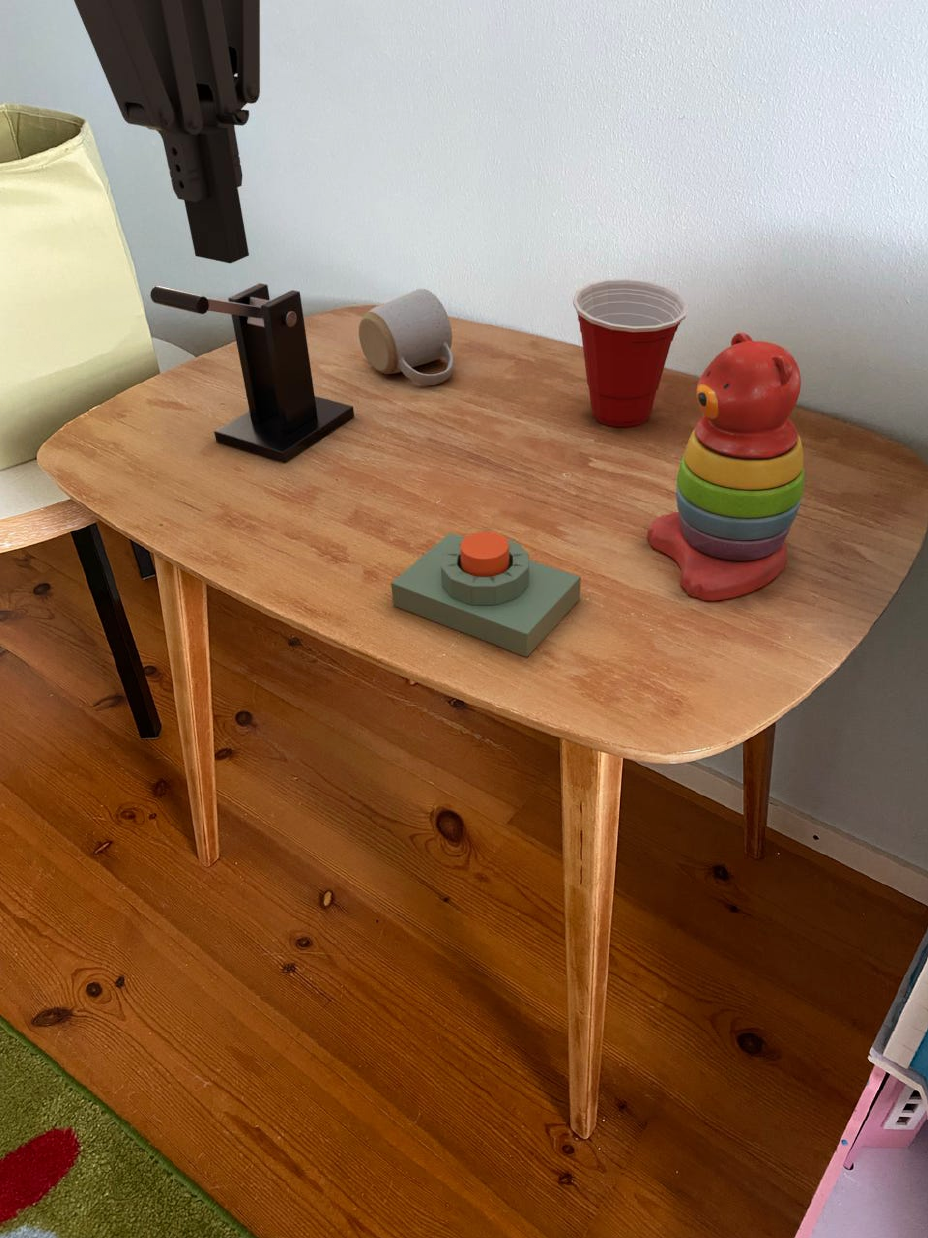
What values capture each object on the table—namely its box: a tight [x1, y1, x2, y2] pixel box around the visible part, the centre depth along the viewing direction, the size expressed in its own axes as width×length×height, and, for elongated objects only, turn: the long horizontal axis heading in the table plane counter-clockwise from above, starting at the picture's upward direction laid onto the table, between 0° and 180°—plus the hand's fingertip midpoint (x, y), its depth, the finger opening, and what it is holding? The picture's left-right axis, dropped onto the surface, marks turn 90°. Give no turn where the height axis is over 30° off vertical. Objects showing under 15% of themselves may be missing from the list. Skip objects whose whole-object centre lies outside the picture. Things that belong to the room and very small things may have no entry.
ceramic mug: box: [358, 288, 454, 386], centre depth 107 cm, size 11×8×8 cm
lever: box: [150, 285, 272, 327], centre depth 88 cm, size 13×6×2 cm, turn 147°
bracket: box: [213, 282, 355, 464], centre depth 95 cm, size 11×9×14 cm
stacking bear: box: [646, 332, 805, 601], centre depth 74 cm, size 11×10×18 cm
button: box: [460, 531, 509, 577], centre depth 73 cm, size 4×4×2 cm
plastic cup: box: [572, 278, 690, 428], centre depth 96 cm, size 11×11×12 cm
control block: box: [390, 532, 582, 658], centre depth 75 cm, size 12×8×4 cm, turn 56°
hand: (222, 255), depth 55 cm, fingers closed
